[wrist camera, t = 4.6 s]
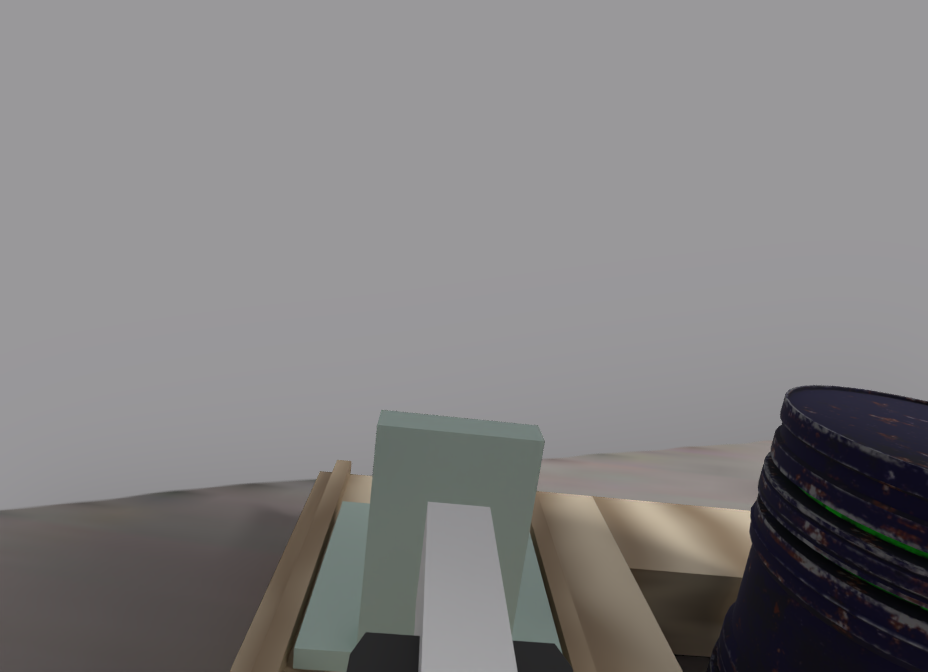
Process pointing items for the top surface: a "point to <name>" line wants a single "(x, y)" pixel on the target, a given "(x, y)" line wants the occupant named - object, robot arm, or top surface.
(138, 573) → the top surface
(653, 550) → the puzzle board
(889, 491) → the dark blue barrel
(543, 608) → the cover
